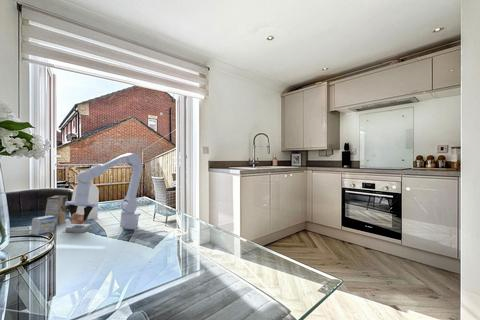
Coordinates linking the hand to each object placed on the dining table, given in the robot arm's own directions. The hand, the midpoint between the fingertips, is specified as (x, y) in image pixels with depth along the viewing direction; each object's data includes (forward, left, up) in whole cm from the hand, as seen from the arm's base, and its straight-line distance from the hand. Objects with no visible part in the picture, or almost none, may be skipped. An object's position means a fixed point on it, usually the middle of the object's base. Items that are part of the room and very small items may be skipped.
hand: (79, 220), depth 121 cm
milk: (+11, -29, -7) cm, 32 cm away
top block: (0, 0, -5) cm, 5 cm away
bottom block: (0, 0, -7) cm, 7 cm away
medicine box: (+13, +6, -7) cm, 16 cm away
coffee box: (+16, -9, -7) cm, 20 cm away
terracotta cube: (0, 0, -2) cm, 2 cm away
